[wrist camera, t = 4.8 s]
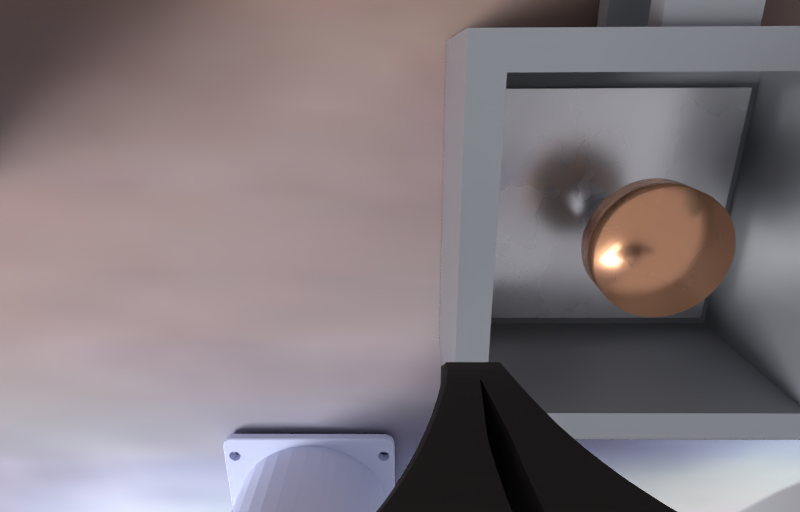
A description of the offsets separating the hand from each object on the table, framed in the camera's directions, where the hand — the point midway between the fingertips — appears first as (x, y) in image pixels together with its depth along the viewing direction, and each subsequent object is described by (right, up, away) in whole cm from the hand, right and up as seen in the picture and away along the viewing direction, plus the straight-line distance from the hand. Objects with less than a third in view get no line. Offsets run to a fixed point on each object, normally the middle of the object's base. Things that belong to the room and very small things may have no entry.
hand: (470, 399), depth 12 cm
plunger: (+6, +5, +8) cm, 11 cm away
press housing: (+6, +7, +8) cm, 12 cm away
